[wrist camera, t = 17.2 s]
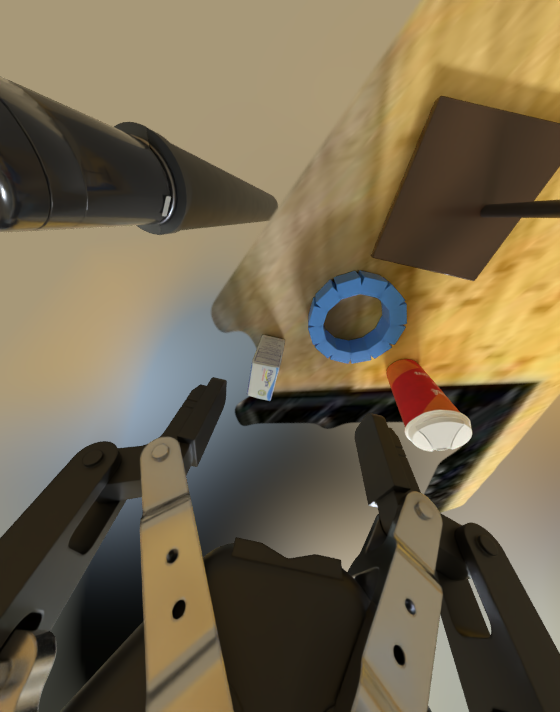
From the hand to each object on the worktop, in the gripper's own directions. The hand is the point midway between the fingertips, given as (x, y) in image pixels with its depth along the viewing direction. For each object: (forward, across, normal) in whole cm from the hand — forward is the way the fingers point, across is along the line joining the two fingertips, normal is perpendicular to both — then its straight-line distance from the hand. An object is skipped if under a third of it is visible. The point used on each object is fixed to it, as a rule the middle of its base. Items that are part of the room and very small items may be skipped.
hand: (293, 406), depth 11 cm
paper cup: (+24, -22, +11) cm, 35 cm away
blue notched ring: (+24, -9, +3) cm, 26 cm away
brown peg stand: (+24, -15, -13) cm, 31 cm away
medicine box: (+25, +3, +14) cm, 29 cm away
